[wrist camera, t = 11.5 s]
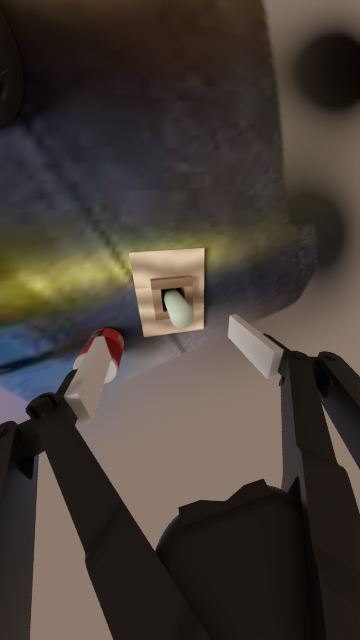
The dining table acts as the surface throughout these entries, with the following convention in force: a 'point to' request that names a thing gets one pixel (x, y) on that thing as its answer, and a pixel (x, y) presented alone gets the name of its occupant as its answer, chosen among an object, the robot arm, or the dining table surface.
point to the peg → (178, 308)
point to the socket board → (162, 270)
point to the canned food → (114, 347)
